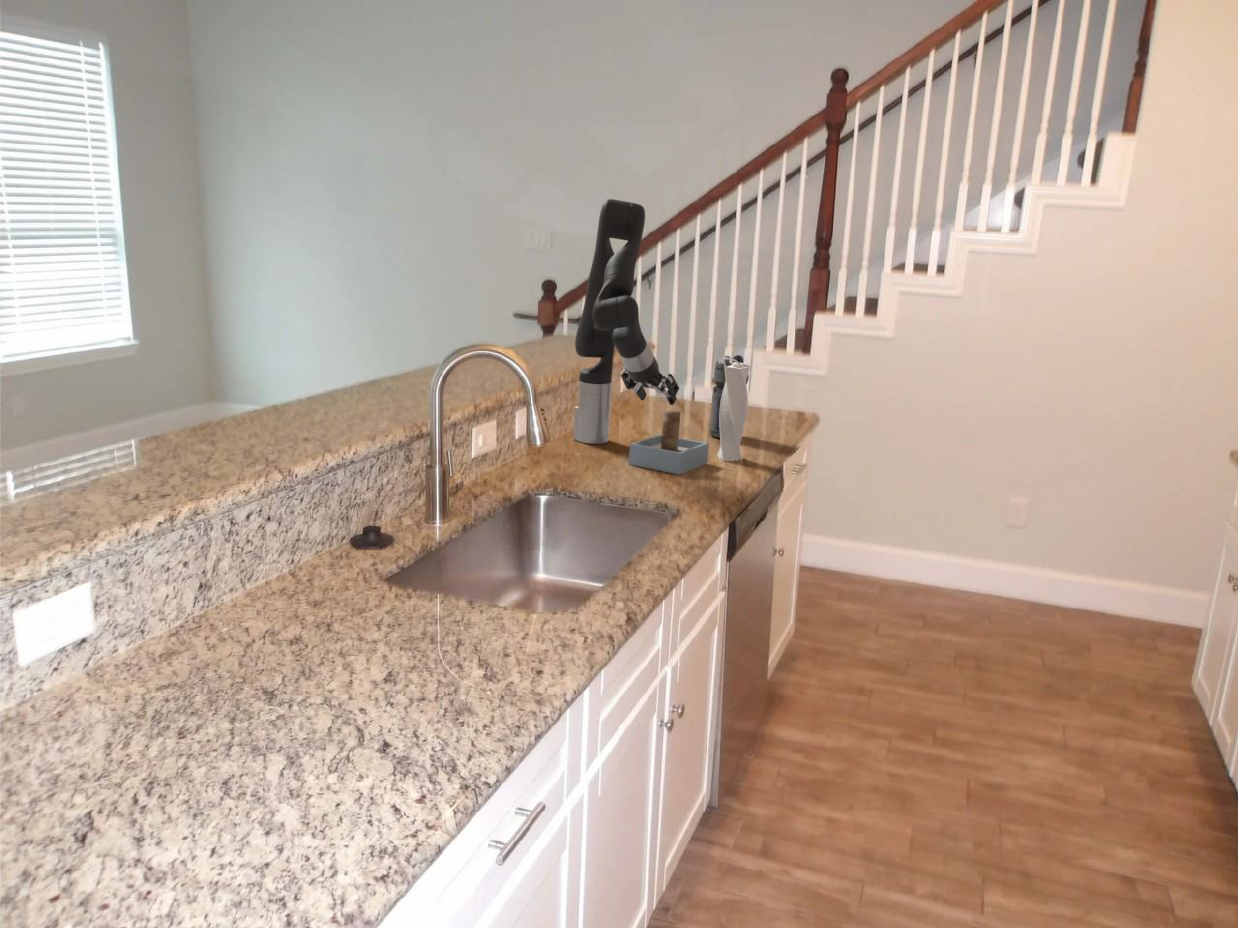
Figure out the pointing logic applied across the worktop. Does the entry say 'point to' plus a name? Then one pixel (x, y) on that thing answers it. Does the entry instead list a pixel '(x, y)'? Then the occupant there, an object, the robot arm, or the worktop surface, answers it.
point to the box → (668, 455)
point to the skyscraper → (733, 410)
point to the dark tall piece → (719, 393)
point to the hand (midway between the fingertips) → (658, 400)
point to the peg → (670, 430)
